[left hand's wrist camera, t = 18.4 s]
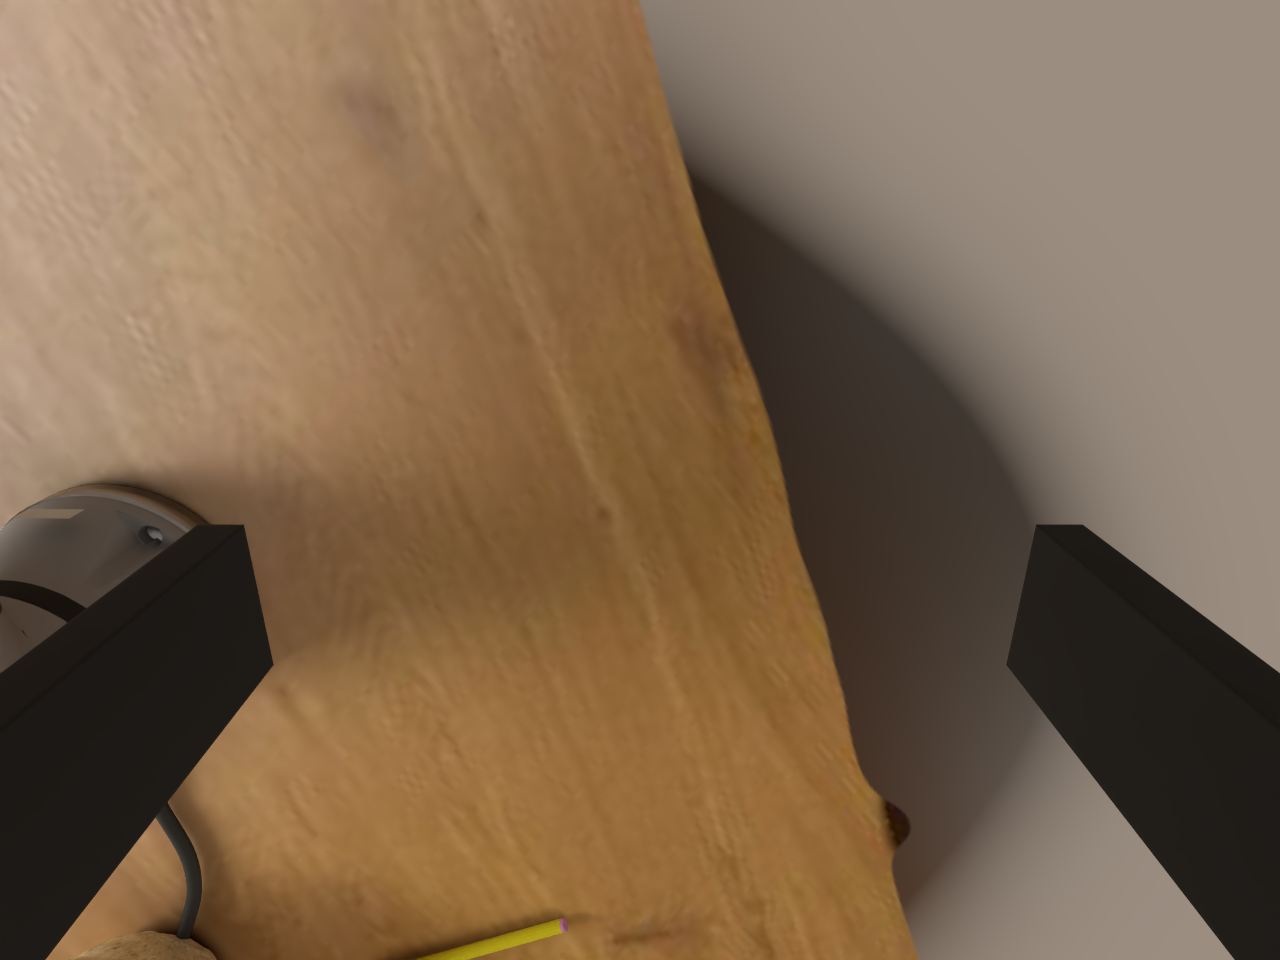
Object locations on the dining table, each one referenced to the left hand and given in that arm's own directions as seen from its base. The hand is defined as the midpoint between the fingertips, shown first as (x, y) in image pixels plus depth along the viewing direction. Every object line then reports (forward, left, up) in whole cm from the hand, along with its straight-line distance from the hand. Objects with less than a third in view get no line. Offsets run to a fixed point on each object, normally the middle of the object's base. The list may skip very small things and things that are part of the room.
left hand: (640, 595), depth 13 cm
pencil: (-46, +21, -31) cm, 59 cm away
